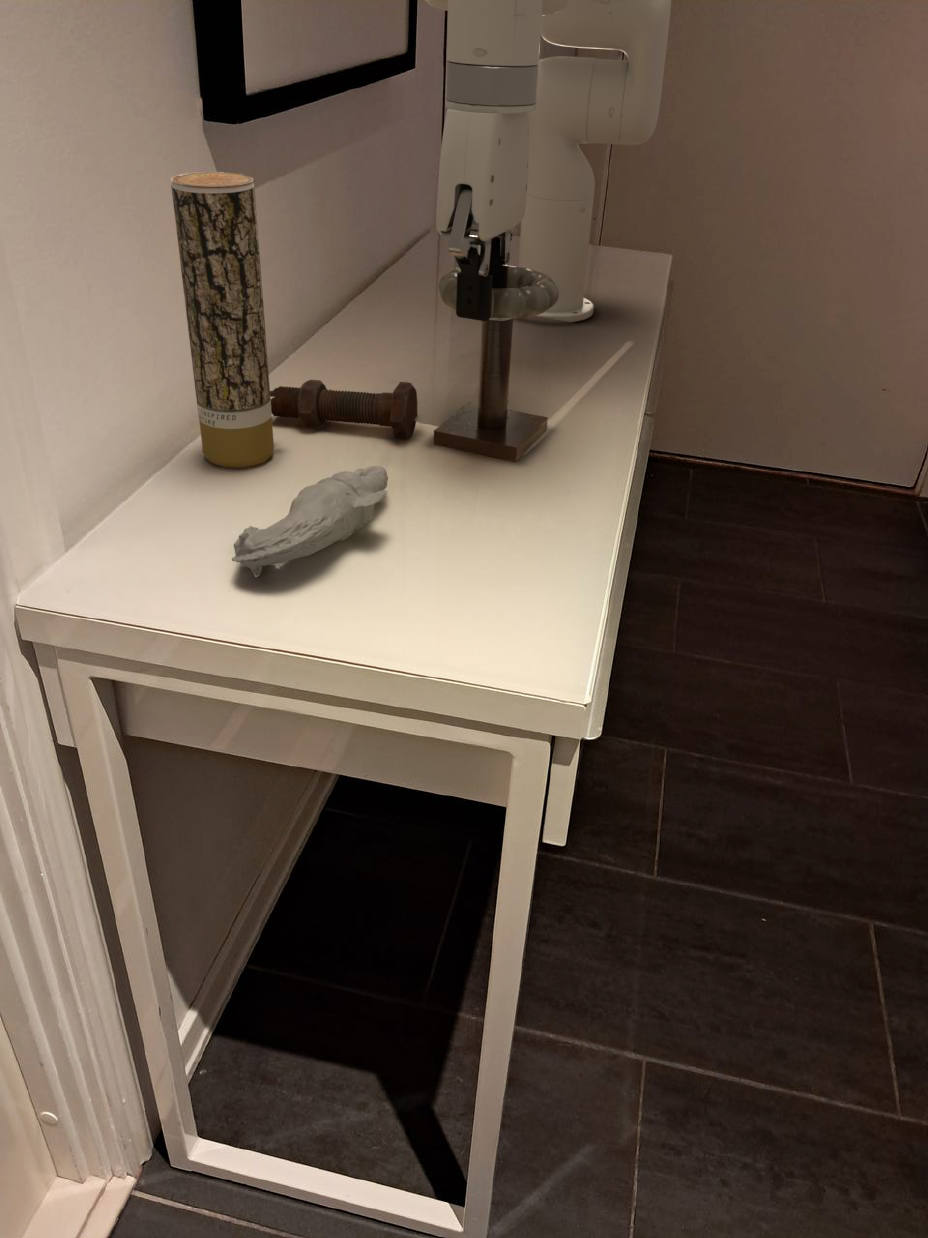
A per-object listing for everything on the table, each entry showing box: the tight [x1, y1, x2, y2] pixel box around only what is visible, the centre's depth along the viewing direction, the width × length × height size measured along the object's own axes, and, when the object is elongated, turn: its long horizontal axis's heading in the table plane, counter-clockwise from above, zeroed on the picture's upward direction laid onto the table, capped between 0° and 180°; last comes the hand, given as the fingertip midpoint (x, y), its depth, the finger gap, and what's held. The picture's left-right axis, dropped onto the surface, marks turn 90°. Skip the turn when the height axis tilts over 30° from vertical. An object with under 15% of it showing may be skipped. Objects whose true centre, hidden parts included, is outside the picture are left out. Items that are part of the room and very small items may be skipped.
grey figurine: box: [231, 465, 389, 578], centre depth 83 cm, size 5×12×20 cm
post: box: [433, 318, 549, 463], centre depth 99 cm, size 9×9×12 cm
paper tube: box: [170, 171, 275, 468], centre depth 90 cm, size 7×7×25 cm
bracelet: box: [438, 264, 559, 319], centre depth 94 cm, size 11×11×3 cm
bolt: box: [270, 379, 418, 441], centre depth 102 cm, size 6×5×15 cm
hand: (481, 311), depth 92 cm, fingers closed on bracelet, 3 cm apart
